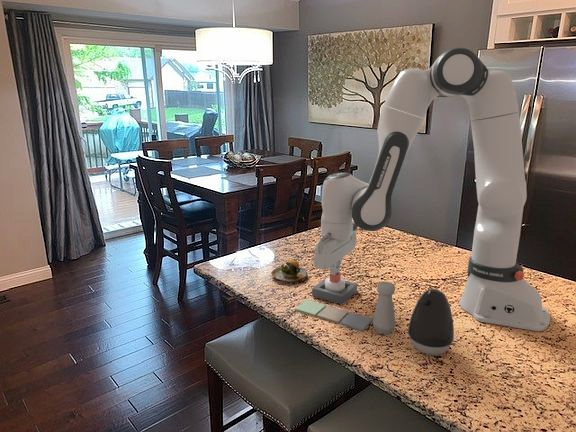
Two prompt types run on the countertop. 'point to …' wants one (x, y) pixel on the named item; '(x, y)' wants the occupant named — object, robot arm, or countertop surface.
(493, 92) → the robot arm
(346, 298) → the button housing
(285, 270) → the bowl of food
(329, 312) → the track
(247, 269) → the countertop surface
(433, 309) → the dark grey egg device
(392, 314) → the salt shaker
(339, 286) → the dome
